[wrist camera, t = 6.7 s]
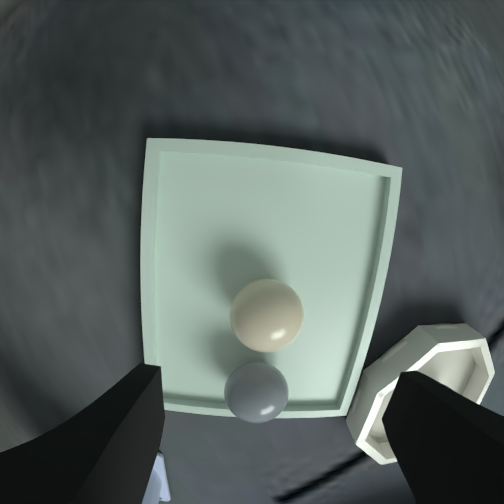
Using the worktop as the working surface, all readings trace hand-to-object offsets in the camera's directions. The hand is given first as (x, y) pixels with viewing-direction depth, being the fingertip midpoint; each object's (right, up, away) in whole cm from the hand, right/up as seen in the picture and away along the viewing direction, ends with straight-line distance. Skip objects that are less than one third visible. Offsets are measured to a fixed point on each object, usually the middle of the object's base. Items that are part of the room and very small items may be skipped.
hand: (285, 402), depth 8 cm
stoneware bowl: (+11, -6, +11) cm, 17 cm away
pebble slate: (-1, -3, +9) cm, 9 cm away
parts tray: (0, +2, +8) cm, 8 cm away
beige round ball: (0, +2, +8) cm, 8 cm away
